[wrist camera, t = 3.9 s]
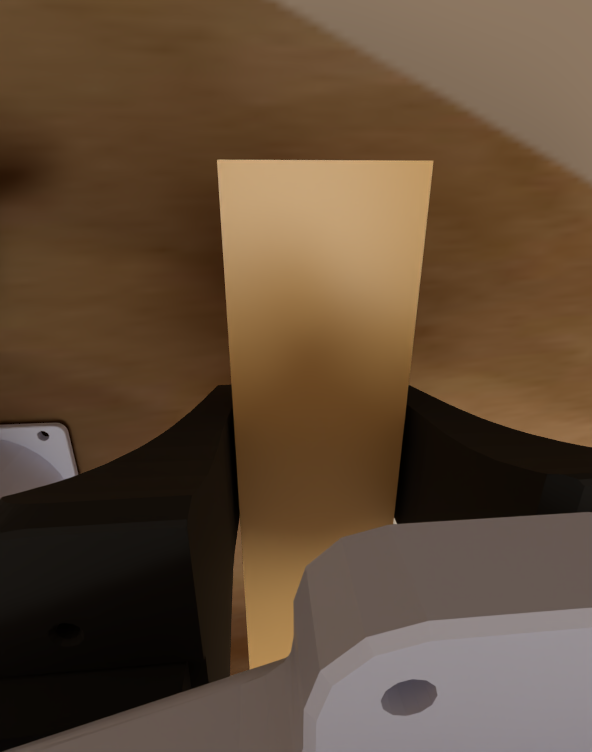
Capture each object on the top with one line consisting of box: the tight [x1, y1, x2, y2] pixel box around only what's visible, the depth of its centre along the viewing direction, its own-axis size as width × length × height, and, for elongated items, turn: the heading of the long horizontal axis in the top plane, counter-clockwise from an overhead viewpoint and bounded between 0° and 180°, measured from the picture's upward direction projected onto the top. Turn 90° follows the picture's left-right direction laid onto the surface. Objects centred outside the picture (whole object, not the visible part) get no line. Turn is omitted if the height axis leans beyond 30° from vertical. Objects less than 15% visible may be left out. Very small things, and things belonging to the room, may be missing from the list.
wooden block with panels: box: [217, 160, 433, 669], centre depth 11 cm, size 4×12×4 cm, turn 0°
